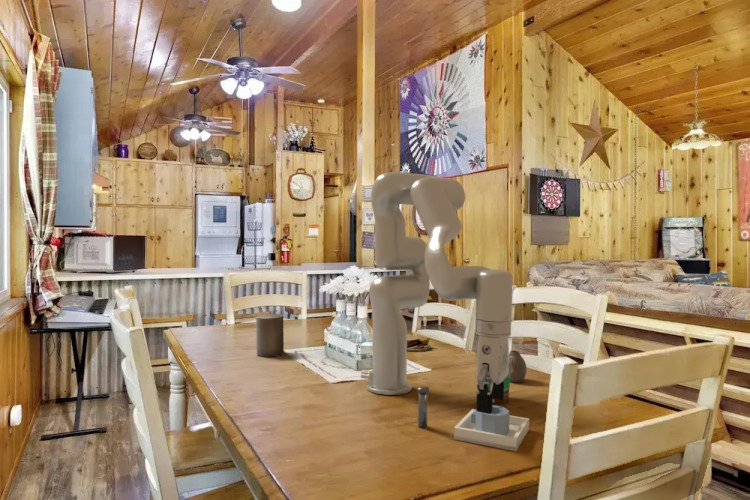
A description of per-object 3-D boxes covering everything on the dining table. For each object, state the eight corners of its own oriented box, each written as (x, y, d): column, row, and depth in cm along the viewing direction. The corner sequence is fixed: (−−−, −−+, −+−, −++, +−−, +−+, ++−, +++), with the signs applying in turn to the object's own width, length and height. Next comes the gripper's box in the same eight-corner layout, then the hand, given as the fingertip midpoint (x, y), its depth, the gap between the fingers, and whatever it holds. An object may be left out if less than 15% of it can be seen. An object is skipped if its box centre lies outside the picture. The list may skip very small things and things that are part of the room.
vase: (527, 384, 149) (527, 354, 148) (502, 383, 150) (503, 353, 150) (525, 378, 155) (525, 349, 155) (501, 376, 157) (502, 348, 157)
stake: (415, 427, 115) (415, 388, 115) (419, 423, 118) (419, 385, 117) (425, 429, 114) (426, 390, 114) (430, 425, 116) (430, 387, 116)
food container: (504, 410, 127) (504, 370, 127) (480, 405, 130) (480, 366, 130) (518, 397, 137) (519, 359, 137) (496, 393, 141) (496, 356, 140)
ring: (503, 439, 107) (504, 417, 107) (467, 432, 110) (468, 411, 110) (511, 428, 113) (511, 408, 113) (476, 422, 116) (476, 402, 116)
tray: (453, 439, 109) (453, 427, 109) (472, 419, 120) (472, 409, 120) (516, 451, 103) (516, 439, 103) (529, 429, 114) (529, 418, 114)
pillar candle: (289, 353, 186) (289, 311, 186) (270, 358, 178) (270, 315, 178) (269, 350, 192) (269, 309, 191) (250, 355, 183) (249, 313, 183)
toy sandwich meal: (412, 354, 187) (412, 341, 187) (389, 347, 197) (389, 335, 197) (437, 349, 194) (437, 337, 194) (413, 343, 205) (413, 331, 205)
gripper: (500, 336, 102) (497, 422, 102) (519, 322, 117) (516, 396, 118) (463, 332, 105) (461, 414, 106) (486, 319, 120) (484, 391, 121)
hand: (490, 405), depth 112 cm, fingers open, 9 cm apart
